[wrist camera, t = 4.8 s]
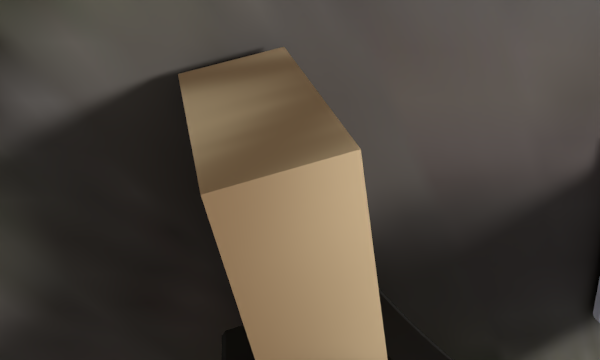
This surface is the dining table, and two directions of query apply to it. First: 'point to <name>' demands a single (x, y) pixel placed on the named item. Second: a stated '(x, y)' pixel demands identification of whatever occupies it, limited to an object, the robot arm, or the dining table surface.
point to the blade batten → (285, 209)
